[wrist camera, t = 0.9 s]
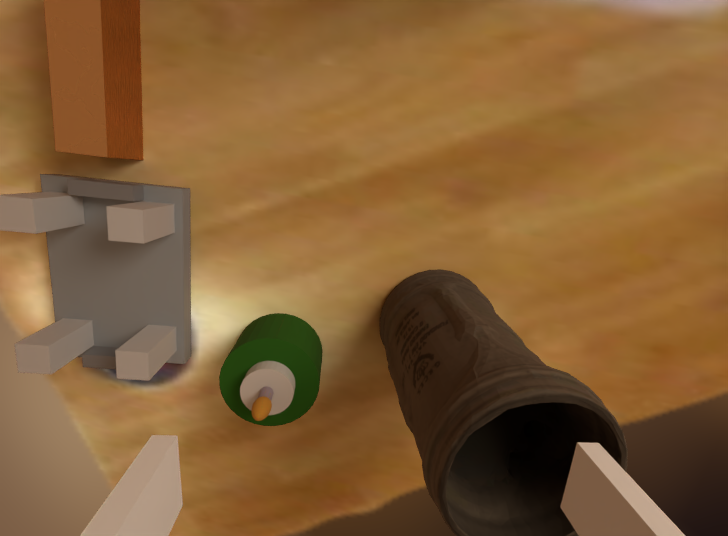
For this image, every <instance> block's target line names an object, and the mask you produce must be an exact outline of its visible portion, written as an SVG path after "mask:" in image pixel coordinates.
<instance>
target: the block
mask: <svg viewBox="0 0 728 536" xmlns="http://www.w3.org/2000/svg"><path fill="white" fill-rule="evenodd" d="M44 10H45V23H46V35H47V48H48V61H49V73H50V86H51V99H52V112H53V124H54V137H55V150H56V151H59V152H67V153H75V154H83V155H91V156H99V157H108V158H122V159H136V160H143V126H142V83H141V41H140V0H44Z"/></svg>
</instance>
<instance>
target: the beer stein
mask: <svg viewBox="0 0 728 536" xmlns="http://www.w3.org/2000/svg"><path fill="white" fill-rule="evenodd" d="M380 335H381V339H382V342H383V344H384V346H385V349H386V355H387V361H388V368H389V372H390V375H391V377H392V379H393V381H394V385H395V388H396V391H397V394H398V398H399V404H400V407H401V410H402V413H403V416H404V418H405V421H406V424H407V426H408V427H409V429H410V430H411V432H412V433H413V434H414V438H415V441H416V444H417V447H418V450H419V453H420V456H421V459H422V468H423V474H424V480H425V483H426V486H427V489H428V492H429V494H430V496H431V498H432V499H433V501H434V502H435V504H436V506H437V507H438V509H439V511H440V513H441V515H442V517H443V519H444V521H445V523H446V524H447V525H448V527H449V528H450V529H451V530H452V532H453V533H454V534H455V535H456V536H579V535H578V534H577V532H576V531H575V529H574V528H573V526H572V524H571V523H570V521H569V520H568V518H567V517H566V515H565V514H564V512H563V510H562V509H561V507H560V506H561V502H562V499H563V495H564V491H565V487H566V483H567V479H568V476H569V472H570V468H571V464H572V460H573V456H574V452H575V449H576V445H577V442H581V443H599V444H600V445H601V446H602V447H603V448H604V449H605V450H606V451H607V452H608V453H609V455H610V456H611V457H612V458H613V459H614V460H615V461H616V462H617V463H618V464H619V465H620V466H621V467H622V468H623V470H624V471H625V472H626V471H627V446H626V441H625V437H624V433H623V431H622V430H621V428H620V426H619V424H618V422H617V421H616V419H615V417H614V416H613V415H612V414H611V413H610V412H609V410H608V409H607V408H606V407H605V406H604V404H603V402H602V401H601V399H600V398H599V397H598V396H597V395H596V394H595V393H594V392H593V391H592V390H591V389H590V388H589V387H588V386H586V385H585V384H583V383H582V382H580V381H579V380H577V379H576V378H574V377H573V376H571V375H570V374H568V373H566V372H563V371H560V370H557V369H554V368H551V367H549V366H546V365H545V364H544V363H543V362H542V361H541V360H540V359H539V357H538V356H537V355H535V354H534V353H533V352H532V351H530V350H529V349H528V348H527V347H526V346H525V344H524V343H523V341H522V340H521V338H520V337H519V336H518V335H517V334H516V333H515V332H514V331H513V330H512V329H511V328H510V327H509V326H508V325H507V324H506V323H505V322H504V321H503V320H502V319H501V318H500V317H499V316H498V315H497V314H496V313H495V311H494V308H493V306H492V304H491V303H490V301H489V300H488V299H487V298H486V297H485V296H484V295H483V294H482V293H481V292H480V290H479V289H478V288H477V286H476V285H475V284H473V283H472V282H471V281H470V280H469V279H467V278H465V277H464V276H462V275H460V274H457V273H455V272H452V271H446V270H428V271H424V272H420V273H417V274H415V275H413V276H411V277H409V278H407V279H405V280H404V281H403V282H401V283H400V284H399V285H398V286H397V287H395V289H394V290H393V291H392V292H391V294H390V295H389V296H388V297H387V299H386V301H385V304H384V306H383V308H382V312H381V317H380Z"/></svg>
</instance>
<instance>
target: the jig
mask: <svg viewBox="0 0 728 536" xmlns="http://www.w3.org/2000/svg"><path fill="white" fill-rule="evenodd" d="M40 177H41V187H42V192H37V193H21V194H4V195H0V230H2V231H13V232H24V233H35V234H37V233H42V232H46V236H47V245H48V255H49V265H50V275H51V284H52V294H53V304H54V314H55V323H53V324H51V325H49V326H47V327H45V328H44V329H42V330H40V331H38V332H36V333H34V334H32V335H30V336H28V337H26V338H24V339H22V340H20V341H19V342H17V343H15V344H14V345H15V352H16V359H17V367H18V372H20V373H37V374H53V373H54V372H56V371H57V370H59V369H60V368H62V367H63V366H64V365H66V364H67V363H69V362H70V361H72V360H73V359H75V358H76V357H82V361H83V367H91V368H106V369H116V371H117V379H134V380H150V379H151V378H152V377H153V376H154V374H155V373H156V372H157V371H158V370H159V369H160V368H161V367H162V366H163V365H164V364H165V363H178V364H185V363H186V362H187V360H188V359H189V358H190V357H191V274H190V188H180V187H171V186H161V185H152V184H143V183H133V182H124V181H114V180H105V179H96V178H86V177H77V176H67V175H58V174H40Z"/></svg>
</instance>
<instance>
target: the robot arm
mask: <svg viewBox="0 0 728 536" xmlns="http://www.w3.org/2000/svg"><path fill="white" fill-rule="evenodd" d="M182 506H183V502H182V489H181V476H180V463H179V450H178V437H177V435H152V436H151V437H150V439H149V440H148V441H147V443H146V444H145V446H144V447H143V448H142V450H141V451H140V453H139V454H138V455H137V457H136V458H135V460H134V461H133V462H132V464H131V465H130V467H129V468H128V469H127V471H126V472H125V474H124V475H123V476H122V478H121V479H120V480H119V482H118V483H117V485H116V486H115V487H114V489H113V490H112V492H111V493H110V494H109V496H108V497H107V499H106V500H105V502H104V503H103V504H102V506H101V507H100V509H99V510H98V511H97V513H96V514H95V516H94V517H93V518H92V520H91V521H90V522H89V524H88V525H87V527H86V528H85V529H84V531H83V532H82V534H81V535H80V536H168V535H169V533H170V531H171V529H172V527H173V525H174V523H175V521H176V519H177V517H178V514H179V512H180V510H181V508H182ZM560 507H561V509H562V510H563V512H564V514H565V515H566V517H567V518H568V520H569V521H570V523H571V524H572V526H573V528H574V529H575V531H576V532H577V534H578V535H579V536H685V535H684V534H683V533H682V532H681V531H680V530H679V529H678V528H677V526H676V525H675V524H674V523H673V522H672V521H671V520H670V519H669V518H668V517H667V516H666V515H665V514H664V512H663V511H662V510H661V509H660V508H659V507H658V506H657V505H656V504H655V503H654V502H653V501H652V500H651V499H650V498H649V496H648V495H647V494H646V493H645V492H644V491H643V490H642V489H641V488H640V487H639V486H638V485H637V484H636V482H635V481H634V480H633V479H632V478H631V477H630V476H629V475H628V474H627V473H626V472H625V471H624V470H623V468H622V467H621V466H620V465H619V464H618V463H617V462H616V461H615V460H614V459H613V458H612V457H611V456H610V455H609V453H608V452H607V451H606V450H605V449H604V448H603V447H602V446H601V445H600V444H599V443H581V442H577V445H576V449H575V452H574V456H573V460H572V464H571V468H570V472H569V476H568V479H567V483H566V487H565V491H564V495H563V499H562V502H561V506H560Z"/></svg>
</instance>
